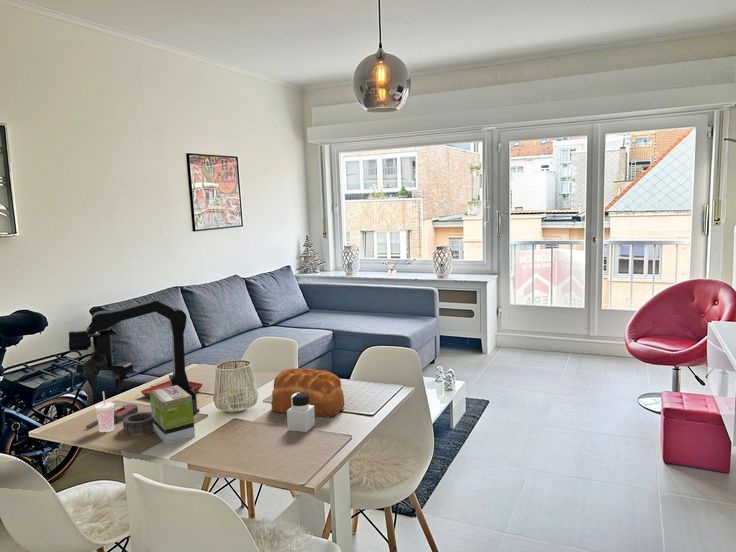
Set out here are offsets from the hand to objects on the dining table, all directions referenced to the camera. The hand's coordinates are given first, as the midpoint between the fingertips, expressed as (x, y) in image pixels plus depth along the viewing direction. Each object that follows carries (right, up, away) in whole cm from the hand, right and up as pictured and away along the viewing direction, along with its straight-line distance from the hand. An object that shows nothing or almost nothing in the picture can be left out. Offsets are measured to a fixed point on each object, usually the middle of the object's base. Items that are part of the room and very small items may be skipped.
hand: (106, 391), depth 198 cm
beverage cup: (0, -14, 0) cm, 14 cm away
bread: (+69, -10, +14) cm, 71 cm away
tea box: (+26, -14, -6) cm, 30 cm away
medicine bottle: (+69, -12, -4) cm, 70 cm away
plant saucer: (+10, -9, +37) cm, 40 cm away
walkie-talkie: (-2, -13, +10) cm, 16 cm away
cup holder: (+12, -13, -1) cm, 18 cm away
